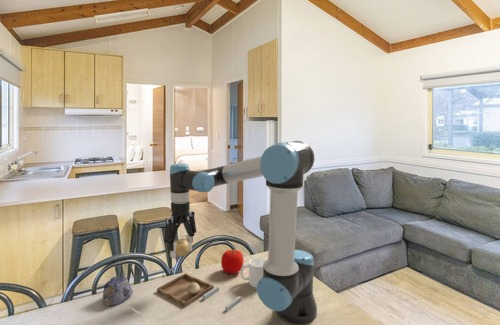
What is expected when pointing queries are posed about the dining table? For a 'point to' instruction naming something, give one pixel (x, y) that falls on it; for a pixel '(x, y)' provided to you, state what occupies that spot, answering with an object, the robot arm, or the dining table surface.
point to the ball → (193, 288)
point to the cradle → (226, 305)
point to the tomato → (232, 261)
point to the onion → (182, 247)
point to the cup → (254, 271)
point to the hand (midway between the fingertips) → (181, 253)
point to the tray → (184, 289)
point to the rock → (117, 290)
